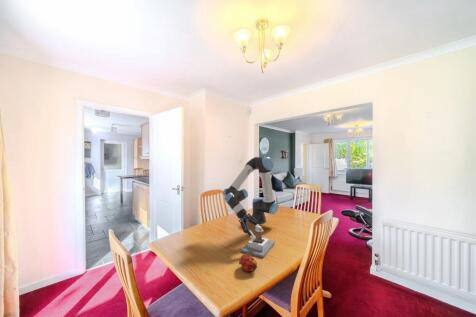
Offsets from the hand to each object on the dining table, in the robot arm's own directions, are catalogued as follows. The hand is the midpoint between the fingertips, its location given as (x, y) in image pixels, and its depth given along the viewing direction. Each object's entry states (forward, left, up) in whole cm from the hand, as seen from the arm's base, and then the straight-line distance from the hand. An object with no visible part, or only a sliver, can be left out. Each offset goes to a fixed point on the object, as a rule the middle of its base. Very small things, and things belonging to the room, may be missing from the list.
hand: (258, 235), depth 130 cm
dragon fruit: (+26, +5, -9) cm, 28 cm away
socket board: (0, 0, -9) cm, 8 cm away
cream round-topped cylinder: (0, 0, -7) cm, 7 cm away
